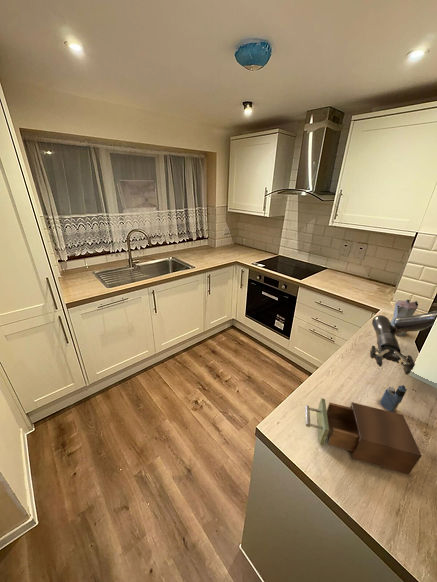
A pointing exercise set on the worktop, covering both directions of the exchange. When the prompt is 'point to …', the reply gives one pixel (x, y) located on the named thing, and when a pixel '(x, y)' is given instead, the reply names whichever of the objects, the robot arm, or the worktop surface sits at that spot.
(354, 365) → the worktop surface
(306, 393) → the worktop surface
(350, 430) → the drawer
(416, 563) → the worktop surface
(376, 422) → the cabinet
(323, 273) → the worktop surface
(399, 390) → the vaping device
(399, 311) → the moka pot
